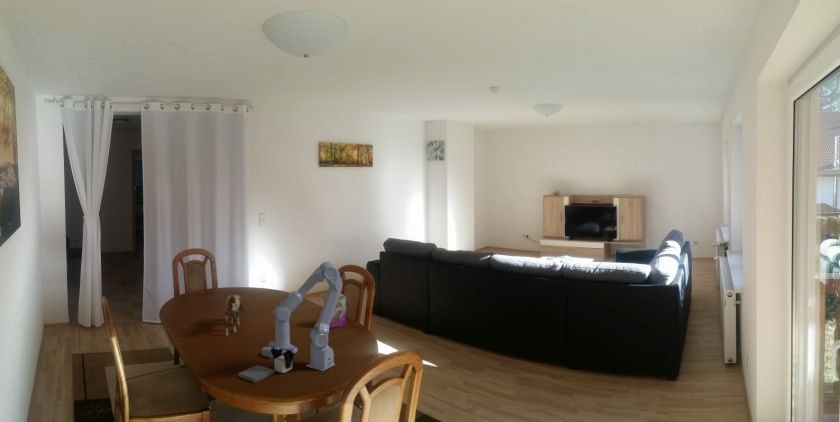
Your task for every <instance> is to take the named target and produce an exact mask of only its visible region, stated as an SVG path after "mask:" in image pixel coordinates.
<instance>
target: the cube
mask: <svg viewBox="0 0 840 422" xmlns="http://www.w3.org/2000/svg"><path fill="white" fill-rule="evenodd" d="M273 359H274V358H273ZM290 370H293V362H292V363H291V367H290V368H288V369H286V366H285V359H284V356H283V355H282V356H280V357H278V358H275V359H274V372H279V373H281V374H284V373H287V372H290Z"/></svg>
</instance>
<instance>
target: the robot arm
mask: <svg viewBox="0 0 840 422" xmlns="http://www.w3.org/2000/svg"><path fill="white" fill-rule="evenodd" d="M325 280H326V282H327V284H328V285H329V286H328V287H329V288H328V290H327V293H326V295H325V296H326V299H325V302H324V301H323V305H322V308H321V311H320V313H319V316H318V317H319V318H318V320H317V321H316V323H315V325H314V326H313V328H312V329H311V331H310V332H309V337H310V339H311V343H310V363H308V364H306V367H308V368H310V369H315V370H317V371H321V372H324V371H326V370H328V369H330V368H331V367H334V366H336V363H335V359H334V358H335V353H334V349H333V348H331V346H329V345H328V343H329V333H330V328H329V324H330V321H331V318H332V315H333V312H334V309H335V307H336V304H337V301H338V298H339V295H340V294H341V291H342V288H343V282H342V278H341V273H340V271H339V270H338V268H337V267H336V266H334V265H333V264H332V262H328V261H325V262H322V263H321V264H320V265H319V267H316V268H315V270H314V271H313V272H312V273H311V275H310V276H309V277H308V278H307V279H306V280H305V282H304V283H303V284H302V285H301V286H300V288H299V289H298V290H295V291H294V290H293V291H292V292H288V294H287V295H288V296H287V297H286V298H285V299H284V300H283V302H280V303H279V305H277V306H276V307H275V308H274V311H273V315H274V317H275V320H274V323H275V324H274V327H275V328H274V329H275V330H274V331H275V332H274V333H275V334H274V335H275V341H274V340H273V341H272V340H271V341H269V342H268V347H273V348H272V349H271V350H270V352H271V353H272V355H273V357H274V358H273V359H275V358H278V357H280V356H282V351H283V350H286V351H287V352H284V353H283V356H284V359H285V366H286V369H288V368H290V367H291V363H292V364H293V360H294V357H295V354H296V353H298V347H296V346H295V345H293V344H291V336H290V335H291V330H290V328H291V327H290V318H291V313H293V312H294V311H295V310H296V309H297V308H298V307H300V304H302V302H303V301H304V296H306V294H307V293H308V292H309V291H310V290H311V289H312V288H313V287H314V286H315V285H317V284H318V283H323V282H325ZM326 282H325V283H326Z"/></svg>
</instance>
